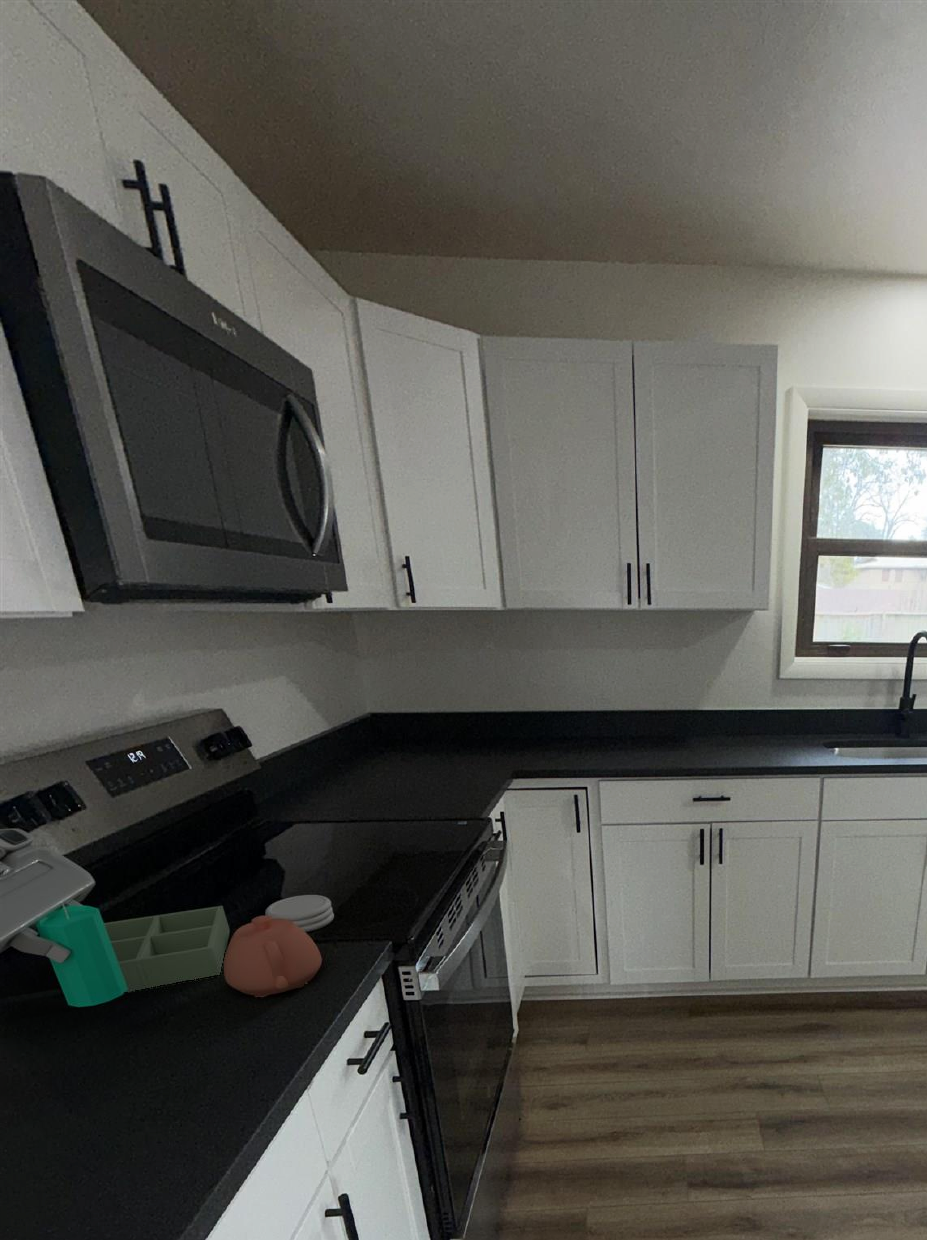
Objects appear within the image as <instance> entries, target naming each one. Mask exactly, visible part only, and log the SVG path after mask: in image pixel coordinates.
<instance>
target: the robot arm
mask: <svg viewBox="0 0 927 1240" xmlns="http://www.w3.org/2000/svg"><path fill="white" fill-rule="evenodd" d="M34 841H35V840H34V837H33V836H32V835H31V834H30V833H28V832H27V831H25V830H23V829H22V828H21V829H20V828H0V954H1V953H3V952H5V951H6V950H8V949H9V948H11V947H12V948H13V949H15V950H18V951H20V952H22V953H28V954H32V955H38V956H42V957H43V956H44V957H47V958H49V960H50V959H52V960H54V961H56V962H58V963H63V962H64V961H66V960H67V959H68V958H69V957H70V955H71V954H72V953H73V950H72V949H71V948H69V947H67V946H65V945H63V944H62V943H60V942H55V941H51V940H48V939H45V938H41V937H40V936H39V932H38V929H37V927H36V924H35V923H36V922H37V921H39V920H40V919H42V918H44V917H45V916H47V915H48V914H50V913H52V912H53V911H55V910H57V909H60V908H63V905H62V903H63V904H64V906H65V907H67V906H70V905H82V906H84V905H83V904H82V903H81V902H82V901H84V900H85V899H86V898H87V896H88V895H89V894H90V893H91V891H92V890H93V889H94V887H95V886H96V881H95V879H94V877H93V876H92V875H91V873H90V872H88V871H87V870H85V869H84V868H83V867H81V866H80V865H78V864H77V863H75V862H74V861H72V860H71V859H69V858H67V857H66V856H63V854H60V853H59V852H57V851H55V850H54V849H52V848H49V847H47V846H44V845H40V844H33V842H34Z"/></svg>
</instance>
